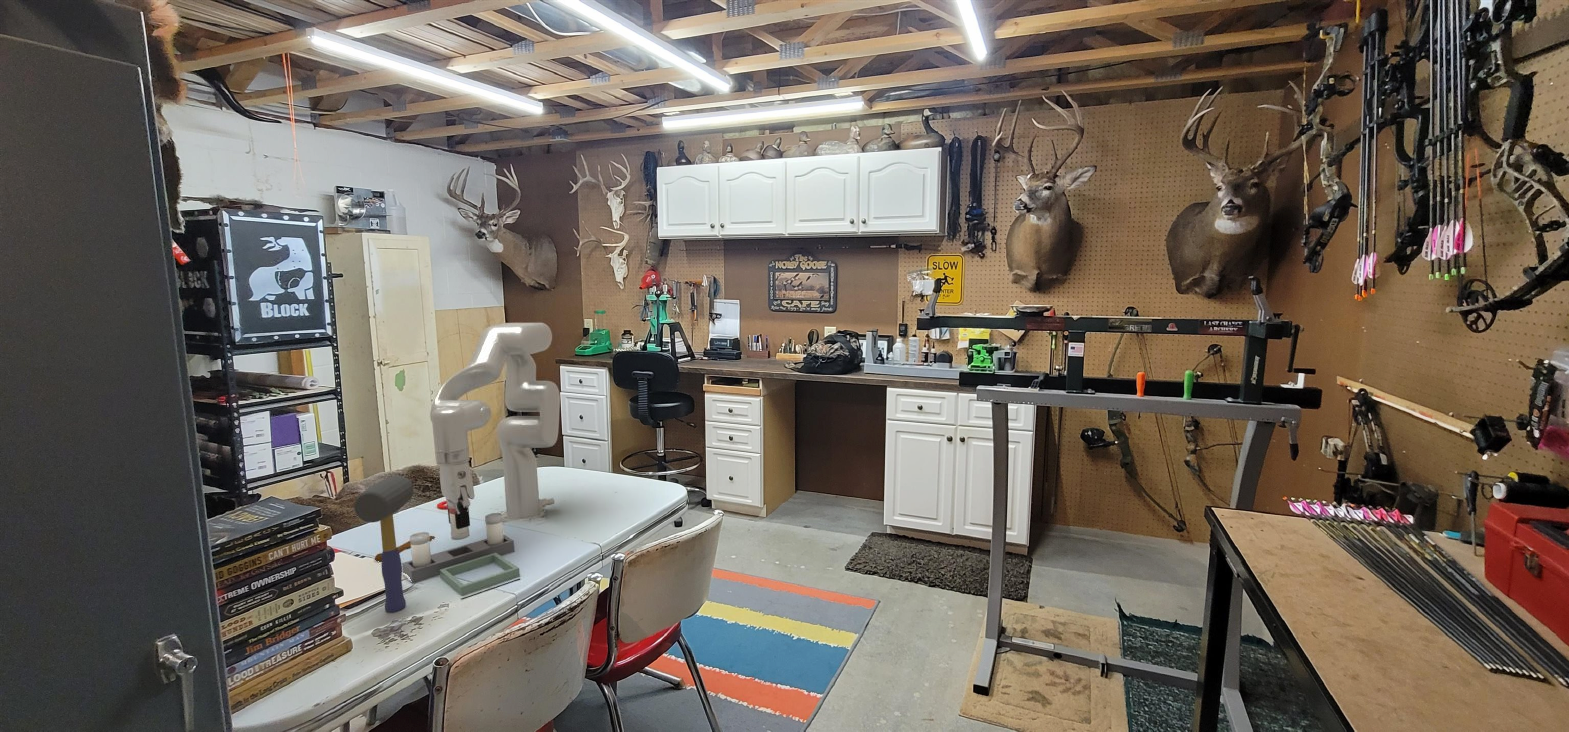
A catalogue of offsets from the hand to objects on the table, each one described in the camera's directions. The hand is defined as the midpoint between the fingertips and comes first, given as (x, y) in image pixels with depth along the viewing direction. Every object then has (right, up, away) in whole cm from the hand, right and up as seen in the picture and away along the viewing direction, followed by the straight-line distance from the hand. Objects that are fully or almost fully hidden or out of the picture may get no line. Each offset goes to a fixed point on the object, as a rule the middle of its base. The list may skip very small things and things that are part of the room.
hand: (459, 524), depth 167 cm
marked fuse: (0, -3, 0) cm, 3 cm away
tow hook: (-26, -6, +47) cm, 54 cm away
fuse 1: (-6, -11, -6) cm, 14 cm away
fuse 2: (+6, -9, +7) cm, 13 cm away
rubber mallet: (-3, -14, -22) cm, 27 cm away
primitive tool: (-21, -11, +12) cm, 26 cm away
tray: (+9, -12, -8) cm, 17 cm away
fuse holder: (0, -11, +1) cm, 11 cm away
